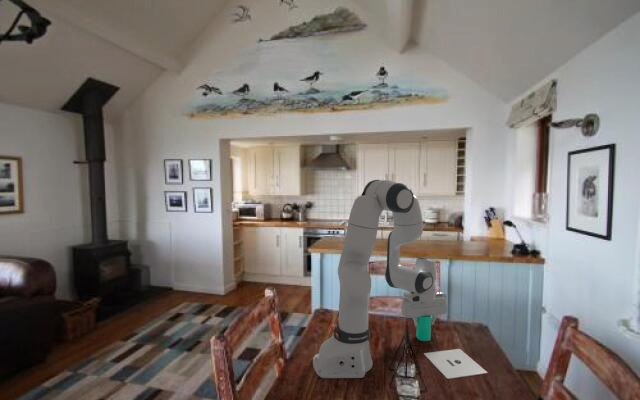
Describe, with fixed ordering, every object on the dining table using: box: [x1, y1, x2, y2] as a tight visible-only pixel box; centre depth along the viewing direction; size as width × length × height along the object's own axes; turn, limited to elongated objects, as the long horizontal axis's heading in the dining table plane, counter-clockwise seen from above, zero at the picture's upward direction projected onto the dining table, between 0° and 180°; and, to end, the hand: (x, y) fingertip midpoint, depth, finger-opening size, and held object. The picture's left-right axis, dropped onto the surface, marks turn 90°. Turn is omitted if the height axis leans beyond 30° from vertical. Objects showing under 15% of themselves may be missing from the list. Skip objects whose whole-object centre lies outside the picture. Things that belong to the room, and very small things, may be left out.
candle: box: [415, 315, 432, 342], centre depth 137 cm, size 6×6×12 cm
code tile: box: [423, 348, 489, 380], centre depth 119 cm, size 16×16×1 cm
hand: (424, 325), depth 138 cm, fingers open, 6 cm apart
